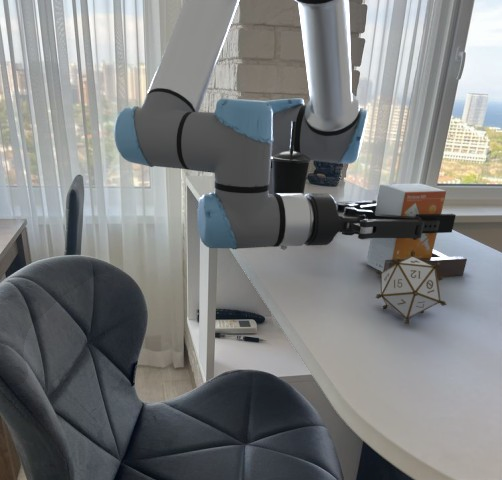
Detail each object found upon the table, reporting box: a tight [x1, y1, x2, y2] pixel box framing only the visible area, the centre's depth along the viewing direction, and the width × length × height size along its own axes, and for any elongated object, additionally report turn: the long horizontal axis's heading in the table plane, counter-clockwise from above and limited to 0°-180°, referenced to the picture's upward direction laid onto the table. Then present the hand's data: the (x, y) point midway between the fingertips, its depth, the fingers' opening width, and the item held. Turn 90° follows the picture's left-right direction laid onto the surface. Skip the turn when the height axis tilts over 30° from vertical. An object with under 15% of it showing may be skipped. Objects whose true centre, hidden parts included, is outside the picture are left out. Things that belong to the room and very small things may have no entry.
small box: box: [366, 182, 447, 272], centre depth 80 cm, size 8×6×13 cm
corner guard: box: [383, 249, 468, 278], centre depth 86 cm, size 17×14×3 cm
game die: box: [374, 250, 447, 327], centre depth 63 cm, size 9×8×10 cm
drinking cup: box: [271, 122, 312, 195], centre depth 98 cm, size 8×8×20 cm
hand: (436, 217), depth 81 cm, fingers open, 7 cm apart
